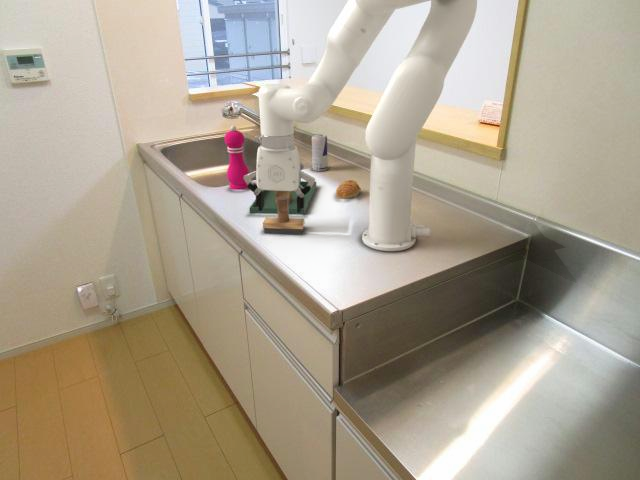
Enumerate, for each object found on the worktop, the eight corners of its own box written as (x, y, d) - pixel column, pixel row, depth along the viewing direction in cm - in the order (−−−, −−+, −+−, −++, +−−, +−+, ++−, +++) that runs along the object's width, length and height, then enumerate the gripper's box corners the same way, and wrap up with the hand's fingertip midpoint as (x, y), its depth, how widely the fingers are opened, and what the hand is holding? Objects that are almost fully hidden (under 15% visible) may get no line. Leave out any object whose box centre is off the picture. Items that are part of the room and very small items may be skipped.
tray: (316, 188, 142) (316, 181, 141) (304, 217, 121) (304, 209, 120) (269, 187, 144) (269, 180, 143) (250, 215, 123) (249, 207, 122)
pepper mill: (253, 185, 147) (247, 122, 138) (248, 192, 140) (241, 127, 132) (231, 184, 148) (224, 123, 139) (225, 192, 141) (217, 128, 132)
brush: (305, 229, 114) (303, 195, 111) (302, 234, 111) (301, 200, 107) (266, 227, 116) (264, 194, 112) (263, 233, 113) (260, 199, 109)
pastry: (353, 202, 130) (353, 190, 129) (331, 200, 132) (331, 188, 131) (361, 191, 138) (361, 179, 137) (340, 190, 140) (340, 178, 139)
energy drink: (330, 168, 161) (329, 134, 156) (322, 172, 157) (321, 138, 152) (317, 166, 164) (316, 133, 159) (309, 170, 160) (308, 136, 155)
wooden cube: (292, 198, 132) (291, 185, 130) (289, 203, 129) (288, 190, 127) (278, 198, 133) (277, 185, 131) (275, 203, 129) (274, 190, 127)
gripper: (236, 143, 101) (242, 213, 109) (312, 146, 99) (312, 217, 107) (245, 136, 108) (250, 202, 116) (317, 138, 106) (317, 206, 114)
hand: (280, 209), depth 111 cm, fingers open, 9 cm apart
